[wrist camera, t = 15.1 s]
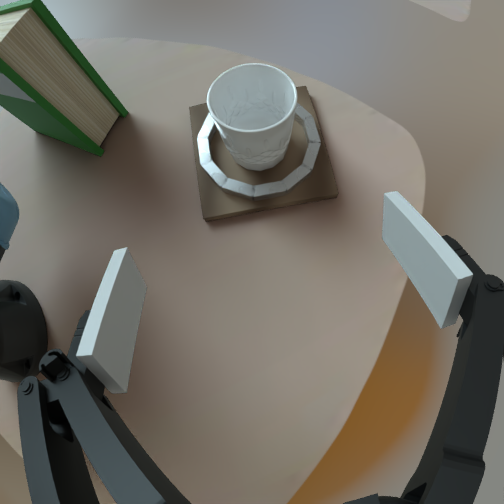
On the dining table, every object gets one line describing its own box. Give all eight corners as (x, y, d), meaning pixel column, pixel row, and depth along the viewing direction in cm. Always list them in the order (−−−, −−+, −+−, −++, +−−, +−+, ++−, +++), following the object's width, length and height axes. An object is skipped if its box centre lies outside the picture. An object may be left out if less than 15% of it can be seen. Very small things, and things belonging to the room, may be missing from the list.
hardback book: (128, 112, 39) (37, -5, 15) (101, 156, 38) (-16, 57, 14) (57, 94, 41) (-23, 14, 17) (34, 130, 40) (-58, 60, 16)
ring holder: (206, 221, 35) (200, 215, 32) (191, 113, 38) (186, 100, 35) (336, 197, 35) (341, 189, 32) (305, 92, 37) (306, 78, 34)
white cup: (223, 120, 35) (207, 68, 26) (289, 114, 35) (291, 60, 25) (225, 179, 34) (206, 137, 24) (296, 173, 34) (303, 128, 24)
